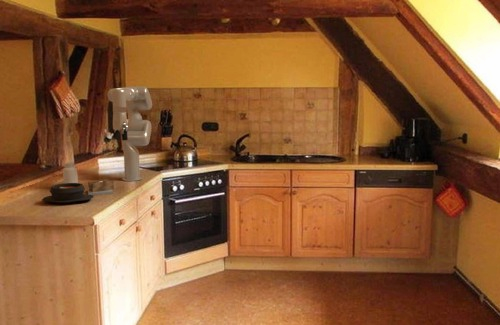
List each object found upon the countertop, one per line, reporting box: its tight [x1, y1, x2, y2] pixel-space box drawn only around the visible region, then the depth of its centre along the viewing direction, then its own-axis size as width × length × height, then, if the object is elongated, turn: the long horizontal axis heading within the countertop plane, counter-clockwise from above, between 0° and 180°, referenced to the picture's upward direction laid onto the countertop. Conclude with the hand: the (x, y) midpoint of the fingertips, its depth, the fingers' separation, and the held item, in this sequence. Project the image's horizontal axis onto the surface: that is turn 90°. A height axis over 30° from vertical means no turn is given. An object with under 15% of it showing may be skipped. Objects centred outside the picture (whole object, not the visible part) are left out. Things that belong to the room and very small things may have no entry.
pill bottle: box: [62, 162, 79, 184], centre depth 256 cm, size 8×8×15 cm
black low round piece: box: [41, 182, 95, 205], centre depth 223 cm, size 25×19×8 cm
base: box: [87, 180, 114, 196], centre depth 245 cm, size 13×13×6 cm
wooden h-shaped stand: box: [87, 178, 115, 192], centre depth 245 cm, size 12×6×5 cm, turn 131°
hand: (121, 139), depth 256 cm, fingers open, 9 cm apart
